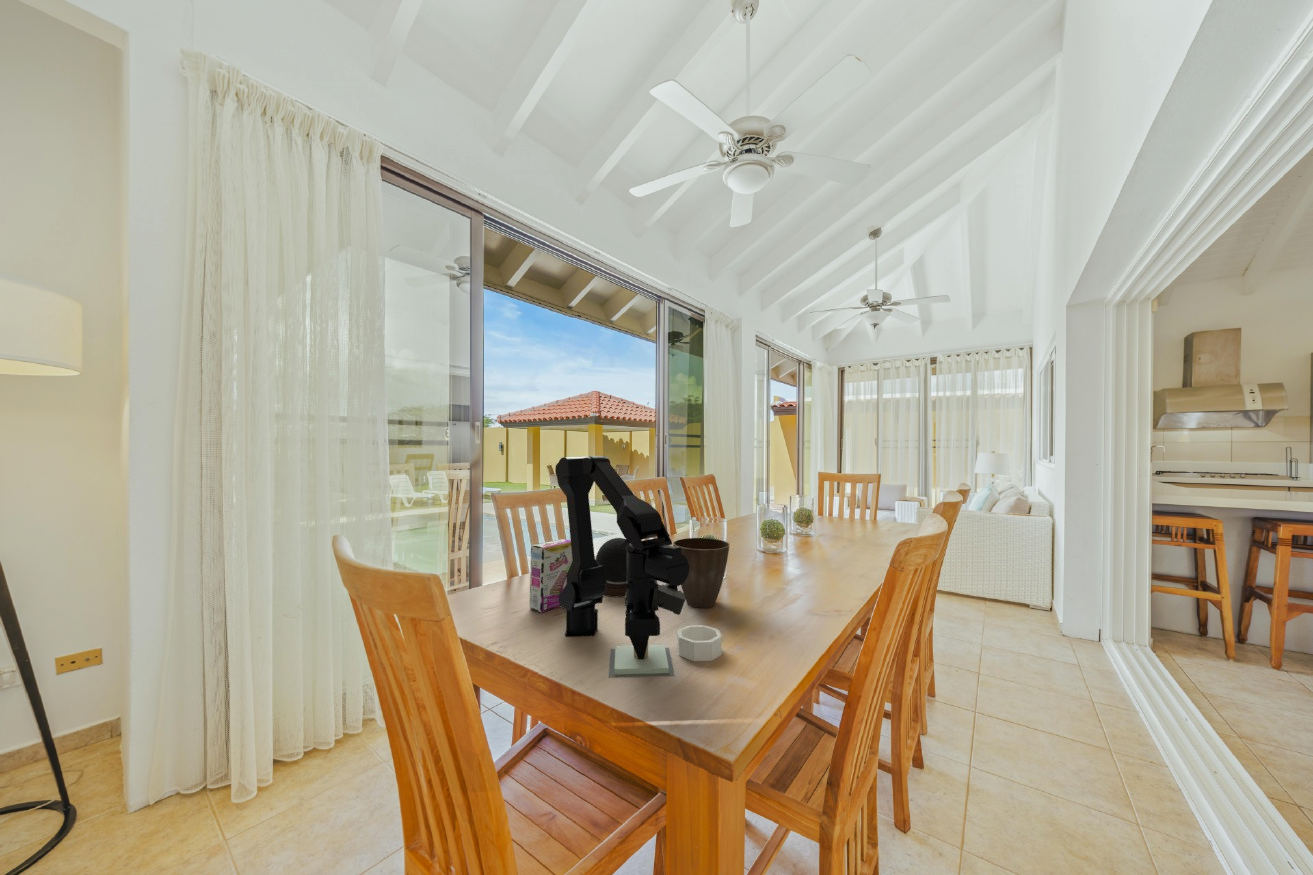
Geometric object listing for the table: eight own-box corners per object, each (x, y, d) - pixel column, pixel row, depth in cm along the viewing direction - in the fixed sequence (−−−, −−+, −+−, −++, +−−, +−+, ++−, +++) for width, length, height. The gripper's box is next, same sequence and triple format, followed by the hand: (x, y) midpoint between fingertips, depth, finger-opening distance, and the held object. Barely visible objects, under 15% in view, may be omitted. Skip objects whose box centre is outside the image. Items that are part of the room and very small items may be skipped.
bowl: (680, 663, 95) (680, 642, 95) (675, 644, 104) (676, 625, 104) (724, 662, 96) (724, 641, 96) (716, 643, 104) (716, 624, 104)
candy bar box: (542, 613, 122) (542, 547, 122) (529, 609, 125) (529, 545, 125) (574, 601, 131) (575, 540, 131) (561, 598, 134) (562, 538, 134)
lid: (614, 674, 90) (614, 649, 90) (615, 650, 100) (615, 628, 100) (668, 673, 90) (668, 648, 90) (664, 649, 100) (664, 627, 100)
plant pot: (675, 593, 138) (676, 536, 139) (729, 595, 136) (729, 538, 136) (669, 611, 124) (670, 548, 124) (729, 614, 122) (729, 550, 122)
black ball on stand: (629, 581, 150) (629, 532, 150) (649, 593, 138) (649, 540, 138) (588, 587, 143) (589, 536, 143) (605, 600, 132) (606, 544, 132)
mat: (608, 679, 89) (608, 677, 89) (610, 650, 101) (610, 648, 101) (674, 677, 89) (674, 675, 89) (668, 649, 101) (668, 647, 101)
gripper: (688, 588, 86) (688, 677, 86) (677, 561, 105) (677, 634, 105) (625, 589, 86) (624, 678, 86) (625, 562, 104) (625, 635, 104)
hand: (640, 654), depth 95 cm, fingers open, 3 cm apart
